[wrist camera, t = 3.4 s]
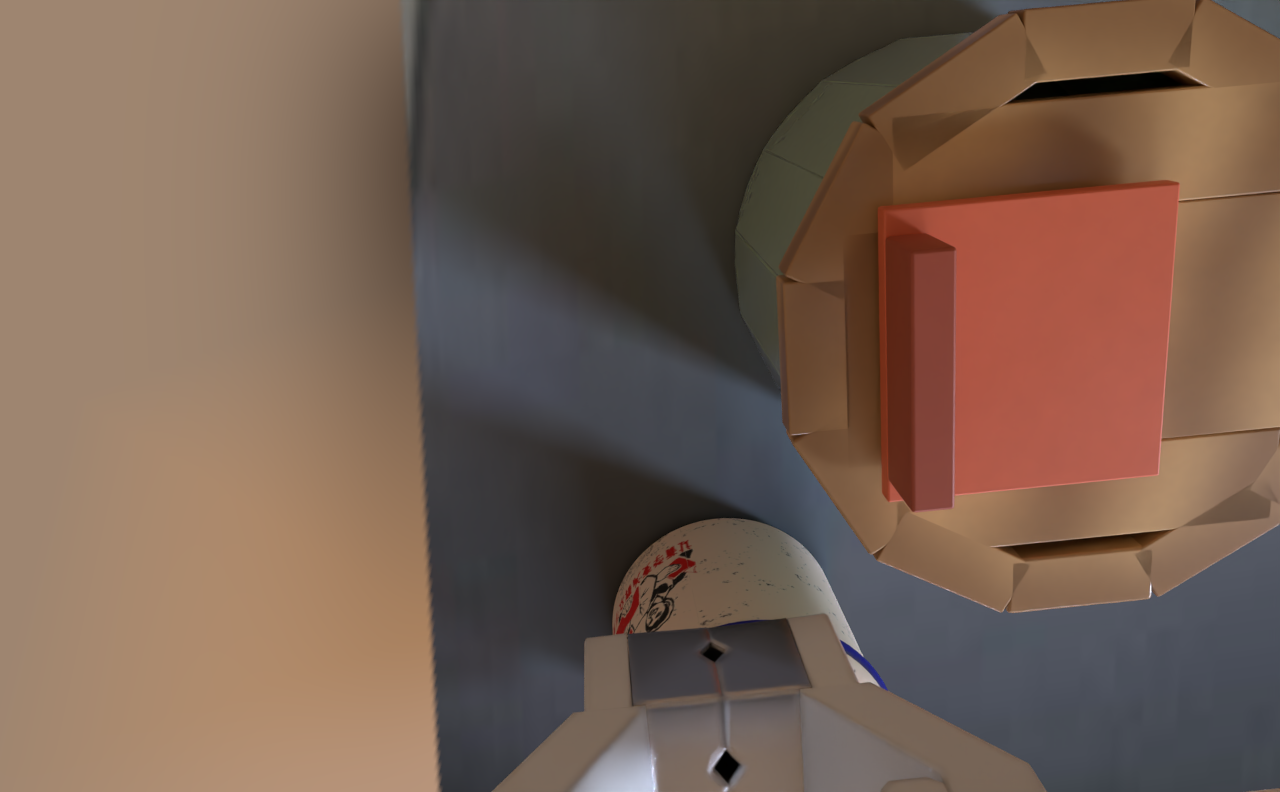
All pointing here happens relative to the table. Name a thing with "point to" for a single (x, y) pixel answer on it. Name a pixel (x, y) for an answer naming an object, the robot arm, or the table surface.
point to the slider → (1024, 339)
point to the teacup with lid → (729, 584)
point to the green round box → (809, 150)
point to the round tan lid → (1043, 161)
